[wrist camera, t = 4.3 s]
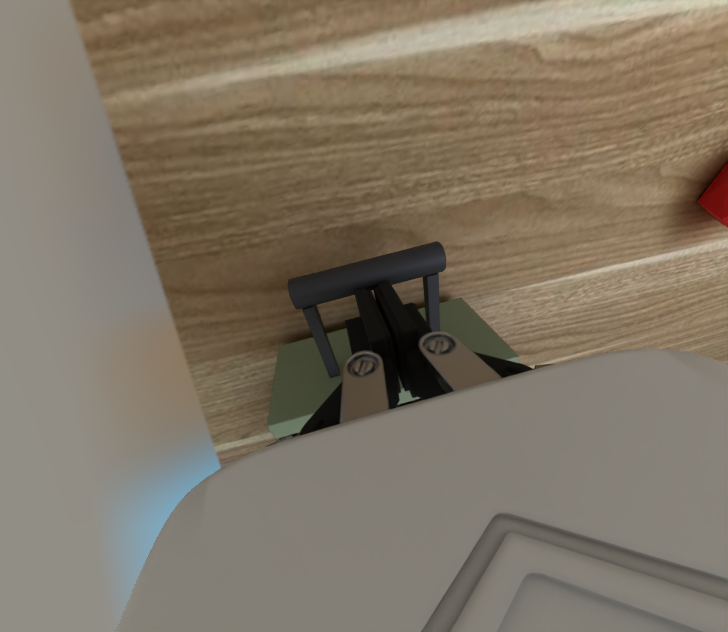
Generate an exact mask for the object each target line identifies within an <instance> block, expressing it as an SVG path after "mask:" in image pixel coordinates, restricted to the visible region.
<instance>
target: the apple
mask: <svg viewBox="0 0 728 632" xmlns="http://www.w3.org/2000/svg"><path fill="white" fill-rule="evenodd" d="M697 202H698V203H699V204H700V205H701V206H702V207H703V208H704V209H705V210H707V211H708V212H709V213H710V214H711V215H712V216H713V217H714V218H715V219H716V220H718V221H719V222H721V223H722V224H723V225H725V226H726V227H727V228H728V162H727V164H726V165H725V166H724V168H723V169H722V170H721V171H720V173H719V174H718V175H717V177H716V178H715V179H714V180H713V182H712V183H711V184H710V185H709V187H708V188H707V189H706V191H705V192H704V193H703V194H702V196H701V197H700V198H699V200H698V201H697Z"/></svg>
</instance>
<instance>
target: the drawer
mask: <svg viewBox="0 0 728 632" xmlns="http://www.w3.org/2000/svg"><path fill="white" fill-rule="evenodd" d="M445 268H446V256H445V252H444V249H443V247H442V245H441V244H440V243H439V242H433V243H429V244H425V245H421V246H417V247H413V248H409V249H406V250H402V251H398V252H394V253H390V254H386V255H382V256H378V257H375V258H371V259H367V260H363V261H359V262H355V263H351V264H347V265H343V266H340V267H336V268H332V269H328V270H324V271H320V272H316V273H312V274H309V275H305V276H301V277H297V278H293V279H289V280H288V290H289V294H290V298H291V300H292V303H293V305H294V307H295V308H296V309H302V308H303V309H302V310H303V313H304V315H305V318H306V320H307V322H308V325H309V327H310V330H311V332H312V335H313V337H312V338H308V339H304V340H301V341H297V342H293V343H289V344H286V345H282V346H279V349H278V356H277V362H276V369H275V376H274V383H273V389H272V396H271V403H270V410H269V417H268V423H267V428H268V429H269V430H270V432H271V433H272V434H273V436H274V437H275V438H276V439H277V438H281V437H285V436H288V435H290V434H295V433H298V434H299V433H300V431H301V429H302V428H303V426H304V425H305V423H306V422H307V421H308V420H309V419H310V418H311V417H312V415H313V414H314V413H315V412H316V411H317V410H318V408H319V407H320V406H321V405H322V404H323V403H324V402H325V400H326V399H327V398H328V397H329V396H330V395H331V393H332V392H333V391H334V390H335V389H336V388H337V387H338V385H339V384H340V383H341V382H342V378H343V366H344V363H345V361H346V360H347V358H348V357H350V356H351V355H352V353H351V348H350V343H349V338H348V333H347V328H345V329H342V330H338V331H334V332H330V333H327V334H326V331H325V328H324V325H323V323H322V320H321V317H320V314H319V311H318V309H317V306H316V305H317V304H321V303H325V302H328V301H332V300H336V299H340V298H344V297H347V296H351V295H355V293H354V290H357V289H361V288H364V287H365V288H366V290H369V289H371V290H374V288H376V287H377V284H380V283H384V282H387V281H389V282H390V284H391V285H393V284H397V283H401V282H405V281H408V280H412V279H416V278H420V277H423V286H424V301H425V307H424V308H420V309H418V311H419V312H420V314H421V315H422V316H423V318H424V319H425V321H426V322H427V324H428V325H429V327H430V328H431V330H432V331H445V332H448V333H451V334H453V335H455V336H456V337H457V338H458V339H459V340H461V341H462V342H463V343H464V344H465V345H466V346H467V347H468V348H469V349H471V350H472V351H473V352H477V353H481V354H485V355H488V356H492V357H496V358H500V359H504V360H508V361H512V362H516V363H518V362H519V355H518V354H517V353H516V352H515V351H514V350H513V349H512V348H511V347H510V346H509V345H508V344H507V343H506V342H505V341H504V340H503V339H502V338H501V337H500V336H499V335H498V334H497V333H496V332H495V331H494V330H493V329H492V328H491V327H490V326H489V325H488V324H487V323H486V322H485V321H484V320H483V319H482V318H481V317H480V316H479V315H478V314H477V313H476V312H475V311H474V310H473V309H472V308H471V307H470V306H469V305H468V304H467V303H466V302H465V301H464V300H463V299H462V298H458V299H454V300H450V301H446V302H443V303H439V275H438V273H439V272H442V271H444V270H445ZM398 377H399V376H398ZM399 382H400V388H401V393H399V398H400V401H399V403H398V404H397V406H396V407H395V408H397V407H401V406H405V405H408V404H412V403H415V402H419V401H422V400H424V399H422V398H419V397H415V398H412V396H411V394H410V391H406V392H405V391H404V388H403V386H402V383H401V381H400V378H399Z"/></svg>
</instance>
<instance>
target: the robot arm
mask: <svg viewBox="0 0 728 632" xmlns="http://www.w3.org/2000/svg"><path fill="white" fill-rule="evenodd" d="M354 293H355V297H356V301H357V305H358V309H359V313H360V317H357V318H353V319H349V320H345V323H346V328H347V333H348V338H349V343H350V348H351V353H352V355H351V356H350V357H348V358H347V360H346V361H345V363H344V366H343V378H342V382H341V383H340V384H339V385H338V387H337V388H336V389H335V390H334V391H333V392H332V393H331V395H330V396H329V397H328V398H327V399H326V400H325V402H324V403H323V404H322V405H321V406H320V407H319V408H318V410H317V411H316V412H315V413H314V414H313V415H312V417H311V418H310V419H309V420H308V421H307V422H306V423H305V425H304V426H303V428H302V429H301V431H300V433H299V434H297V435H295V436H293V435H292V434H290V435H288V436H286V437H284V438H282V439H280V440H278V441H276V442H274V443H272V444H270V445H268V446H266V447H264V448H261V449H259V450H257V451H254V452H252V453H249V454H247V455H245V456H243V457H241V458H239V459H237V460H235V461H233V462H231V463H229V464H227V465H225V466H224V467H222V468H221V469H219V470H218V471H216V472H215V473H213V474H212V475H211V476H209V477H207V478H206V479H204V480H203V481H202V482H200V483H199V484H198V485H197V486H195V487H194V488H193V489H192V490H191V491H190V492H189V493H187V495H186V496H185V497H184V498H183V499H182V500H181V501H180V502H179V504H178V505H177V506H176V507H175V509H174V510H173V512H172V513H171V515H170V516H169V518H168V519H167V521H166V522H165V524H164V526H163V528H162V529H161V531H160V533H159V535H158V537H157V539H156V541H155V543H154V545H153V547H152V549H151V551H150V553H149V555H148V557H147V559H146V561H145V564H144V566H143V568H142V570H141V572H140V575H139V577H138V579H137V581H136V584H135V586H134V588H133V590H132V593H131V595H130V598H129V600H128V602H127V605H126V607H125V610H124V612H123V614H122V617H121V619H120V622H119V624H118V626H117V629H116V631H115V632H728V365H727V364H724V363H722V362H719V361H717V360H715V359H712V358H709V357H706V356H703V355H700V354H697V353H692V352H688V351H680V350H671V349H627V350H617V351H611V352H605V353H598V354H594V355H590V356H586V357H581V358H577V359H573V360H569V361H565V362H561V363H557V364H545V365H535V368H534V369H532V368H530V367H528V366H526V365H523V364H520V363H516V362H512V361H508V360H504V359H500V358H496V357H492V356H488V355H485V354H481V353H477V352H473V351H472V350H471V349H469V348H468V347H467V346H466V345H465V344H464V343H463V342H462V341H461V340H459V339H458V338H457V337H456V336H455V335H453V334H451V333H448V332H445V331H432V330H431V328H430V327H429V325H428V324H427V322H426V321H425V319H424V318H423V316H422V315H421V314H420V312H419V311H418V309H417V308H416V306H415V305H414V304H413V303H409V304H405V305H403V303H402V302H401V300H400V298H399V297H398V295H397V294H396V292H395V290H394V289H393V287H392V285H391V284H390V282H389V281H387V282H384V283H380V284H377V287H376V288H374V294H375V299H376V301H375V299H374V296H373V294H372V292H371V289H369V290H366V288H365V287H364V288H361V289H357V290H354ZM398 376H399V377H398ZM399 378H400V381H401V383H402V386H403V388H404V391H405V392H406V391H410V394H411V396H412V398H415V397H419V398H422V399H424V400H422V401H419V402H415V403H412V404H408V405H405V406H401V407H397V408H395V407H396V406H397V404H398V403H399V401H400V398H399V393H401V388H400V382H399Z"/></svg>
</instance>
